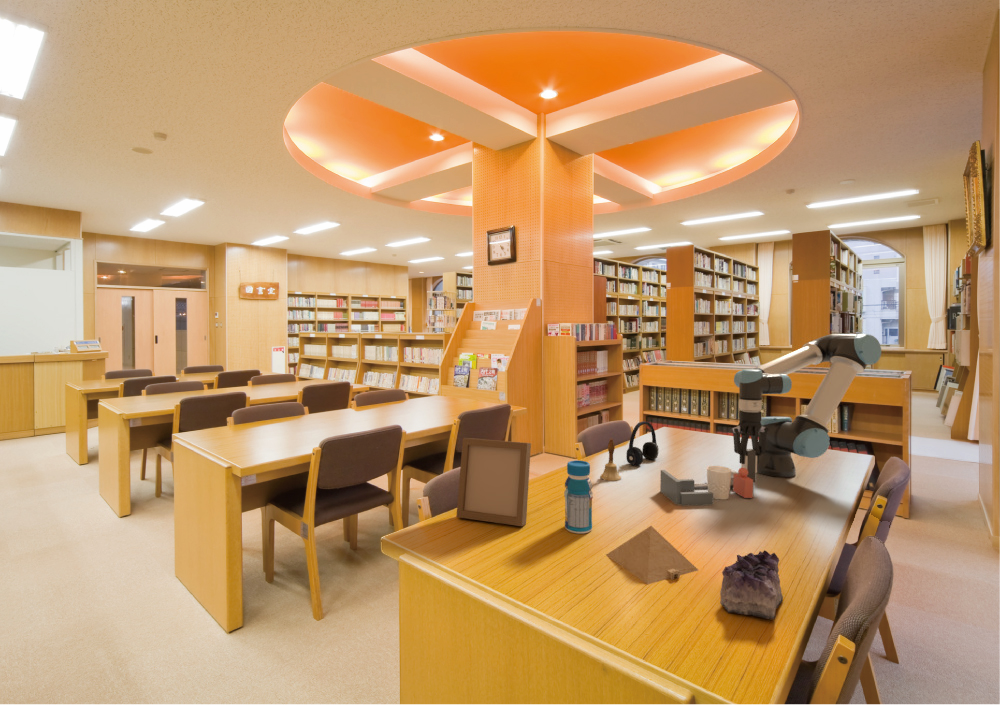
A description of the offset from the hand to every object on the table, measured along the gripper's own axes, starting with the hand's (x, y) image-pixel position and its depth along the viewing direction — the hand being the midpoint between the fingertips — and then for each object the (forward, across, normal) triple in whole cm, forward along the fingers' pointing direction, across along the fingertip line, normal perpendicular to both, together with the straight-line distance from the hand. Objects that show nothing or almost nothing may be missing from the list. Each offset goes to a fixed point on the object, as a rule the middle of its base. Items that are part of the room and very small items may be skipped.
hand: (749, 471), depth 179 cm
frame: (+6, -28, -10) cm, 31 cm away
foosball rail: (+6, -15, 0) cm, 16 cm away
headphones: (+6, -28, +36) cm, 46 cm away
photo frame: (+6, -97, -20) cm, 99 cm away
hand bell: (+6, -49, +14) cm, 51 cm away
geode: (+6, -43, -72) cm, 84 cm away
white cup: (+6, -17, -10) cm, 20 cm away
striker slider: (+5, -5, -6) cm, 9 cm away
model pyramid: (+6, -59, -54) cm, 81 cm away
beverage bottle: (+6, -73, -32) cm, 80 cm away
